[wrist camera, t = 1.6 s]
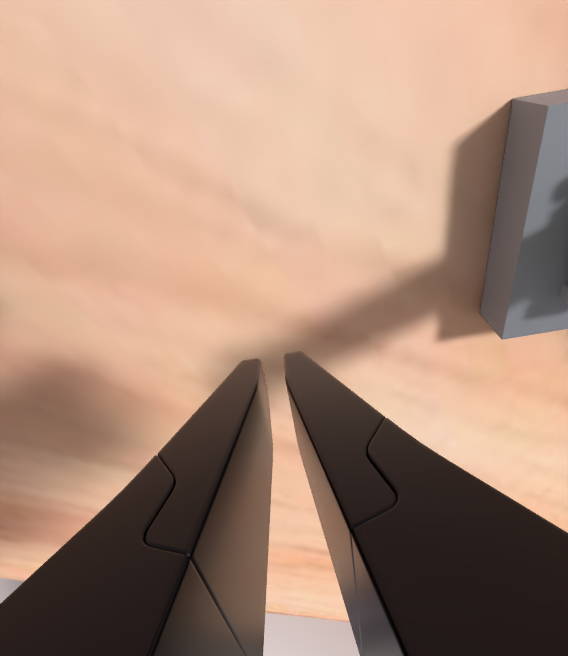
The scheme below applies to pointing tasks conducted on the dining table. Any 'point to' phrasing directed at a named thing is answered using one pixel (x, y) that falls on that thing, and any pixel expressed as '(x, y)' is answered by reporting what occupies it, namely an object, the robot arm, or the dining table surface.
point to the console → (531, 222)
